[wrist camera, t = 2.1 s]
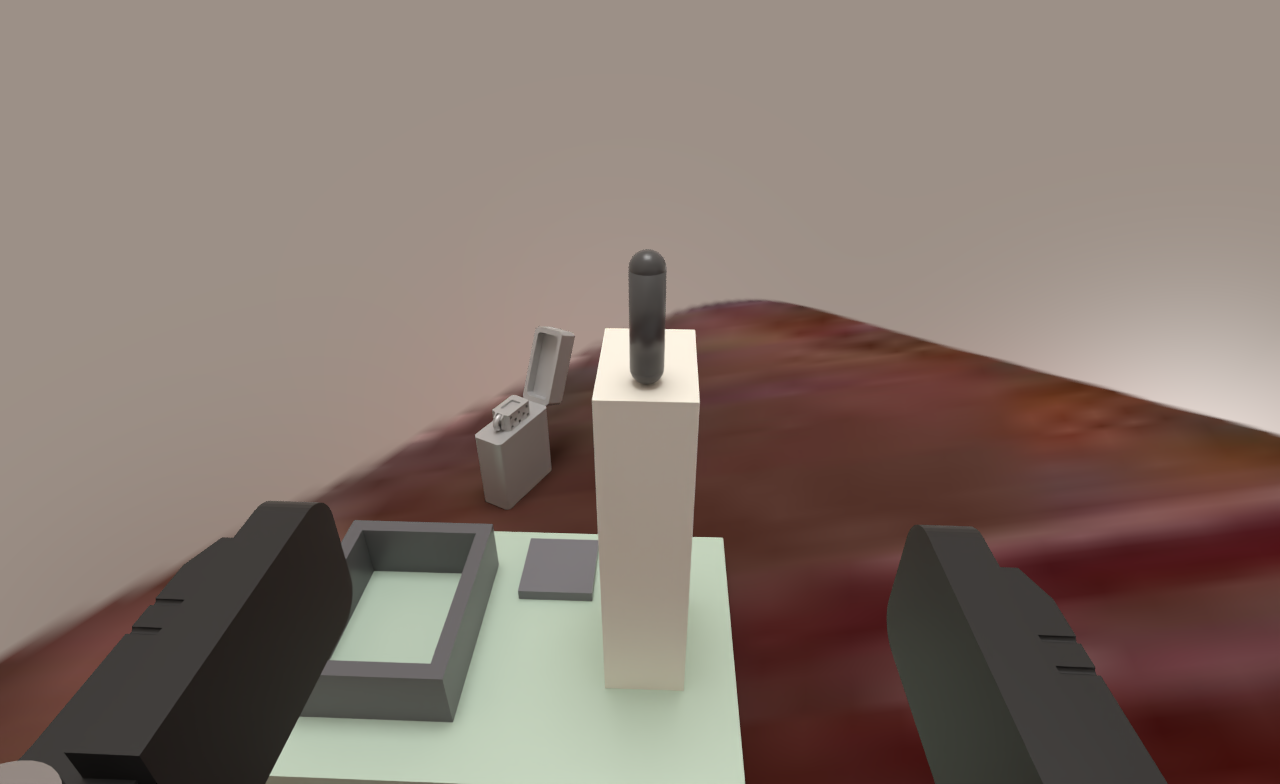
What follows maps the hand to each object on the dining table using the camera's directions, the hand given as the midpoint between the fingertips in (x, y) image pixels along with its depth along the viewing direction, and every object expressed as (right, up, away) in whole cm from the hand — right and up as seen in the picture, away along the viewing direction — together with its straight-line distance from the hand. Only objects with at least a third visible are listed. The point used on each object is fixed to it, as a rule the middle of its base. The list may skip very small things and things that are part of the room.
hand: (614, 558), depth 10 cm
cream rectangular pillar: (+1, -8, +18) cm, 20 cm away
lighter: (-6, -2, +30) cm, 30 cm away
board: (-5, -9, +19) cm, 21 cm away
